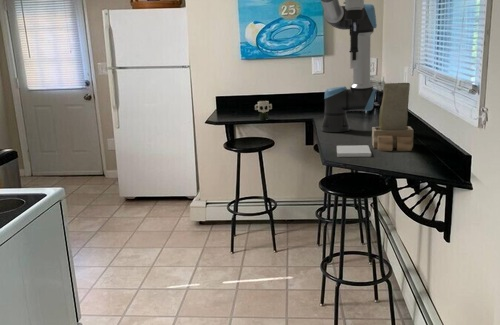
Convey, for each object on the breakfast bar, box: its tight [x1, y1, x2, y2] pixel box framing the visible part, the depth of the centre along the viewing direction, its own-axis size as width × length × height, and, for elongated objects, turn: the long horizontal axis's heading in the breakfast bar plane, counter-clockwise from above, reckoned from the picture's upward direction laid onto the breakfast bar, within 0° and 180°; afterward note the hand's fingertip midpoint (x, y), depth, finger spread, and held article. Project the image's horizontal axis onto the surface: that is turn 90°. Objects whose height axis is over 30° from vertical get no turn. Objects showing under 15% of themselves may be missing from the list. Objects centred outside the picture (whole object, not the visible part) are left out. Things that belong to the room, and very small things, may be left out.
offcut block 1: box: [376, 136, 394, 152], centre depth 210 cm, size 4×6×6 cm, turn 81°
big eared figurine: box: [254, 100, 273, 121], centre depth 305 cm, size 11×7×13 cm, turn 92°
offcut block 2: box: [395, 135, 413, 152], centre depth 208 cm, size 4×6×6 cm, turn 81°
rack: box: [371, 125, 414, 149], centre depth 217 cm, size 10×17×8 cm, turn 81°
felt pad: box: [336, 144, 372, 158], centre depth 207 cm, size 16×14×2 cm
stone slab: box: [378, 82, 411, 130], centre depth 211 cm, size 12×4×30 cm, turn 80°
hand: (353, 68), depth 199 cm, fingers open, 3 cm apart
